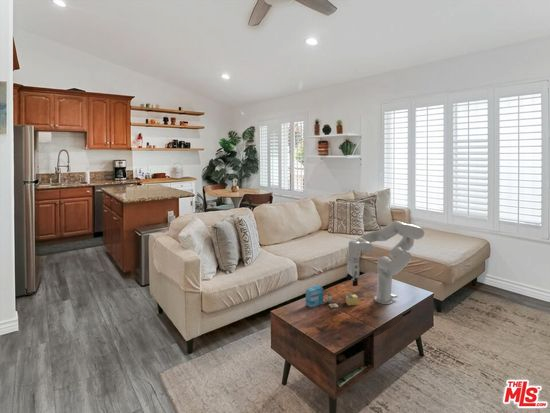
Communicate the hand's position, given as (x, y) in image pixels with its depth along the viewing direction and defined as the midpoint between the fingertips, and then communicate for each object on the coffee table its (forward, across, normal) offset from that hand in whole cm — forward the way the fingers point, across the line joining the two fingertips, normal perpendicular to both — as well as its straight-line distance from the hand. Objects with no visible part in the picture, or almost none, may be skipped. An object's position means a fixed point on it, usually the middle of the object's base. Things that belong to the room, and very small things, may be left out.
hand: (351, 282), depth 231 cm
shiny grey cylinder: (+15, +4, +14) cm, 21 cm away
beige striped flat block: (+15, -2, +13) cm, 20 cm away
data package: (+16, +3, +25) cm, 30 cm away
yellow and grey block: (+15, 0, -1) cm, 15 cm away
